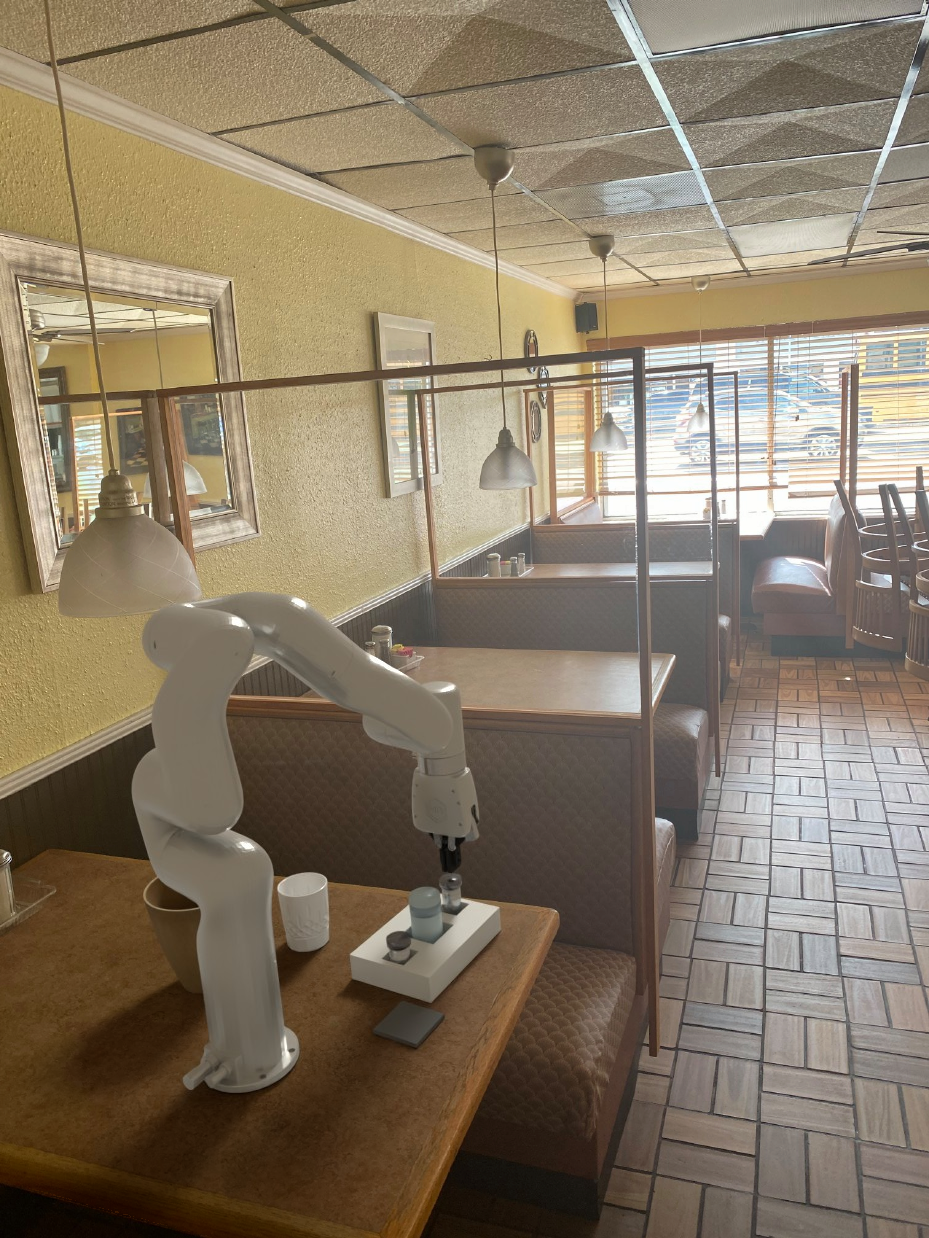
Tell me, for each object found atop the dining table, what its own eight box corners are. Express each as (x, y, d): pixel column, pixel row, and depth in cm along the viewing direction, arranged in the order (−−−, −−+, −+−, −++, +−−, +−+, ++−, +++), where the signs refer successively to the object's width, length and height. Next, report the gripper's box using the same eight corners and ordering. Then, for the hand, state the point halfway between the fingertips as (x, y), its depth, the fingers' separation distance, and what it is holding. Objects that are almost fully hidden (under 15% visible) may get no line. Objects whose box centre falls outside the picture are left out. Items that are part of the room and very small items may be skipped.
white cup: (338, 927, 152) (332, 871, 150) (326, 954, 144) (320, 896, 142) (291, 927, 153) (285, 872, 151) (277, 954, 145) (270, 896, 143)
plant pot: (136, 996, 136) (120, 898, 133) (206, 944, 149) (194, 853, 146) (211, 1020, 129) (197, 917, 126) (278, 964, 142) (267, 869, 139)
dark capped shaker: (456, 920, 146) (454, 885, 144) (437, 915, 147) (434, 881, 146) (468, 909, 149) (465, 875, 147) (449, 905, 150) (446, 871, 149)
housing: (431, 1002, 130) (428, 977, 129) (352, 978, 137) (349, 954, 136) (500, 929, 148) (499, 907, 147) (427, 911, 155) (426, 889, 154)
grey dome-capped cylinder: (404, 983, 134) (401, 946, 132) (384, 977, 135) (381, 940, 134) (418, 970, 137) (415, 934, 135) (398, 964, 138) (395, 928, 137)
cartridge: (434, 965, 139) (429, 905, 137) (407, 957, 142) (402, 898, 140) (450, 949, 143) (446, 890, 141) (424, 941, 146) (419, 884, 144)
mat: (416, 1047, 121) (416, 1043, 121) (373, 1033, 124) (373, 1029, 124) (444, 1017, 127) (444, 1013, 126) (402, 1004, 130) (402, 1000, 130)
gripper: (388, 763, 144) (400, 871, 148) (471, 776, 136) (480, 888, 140) (415, 747, 150) (425, 850, 154) (495, 758, 142) (503, 866, 146)
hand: (451, 868), depth 147 cm, fingers closed
